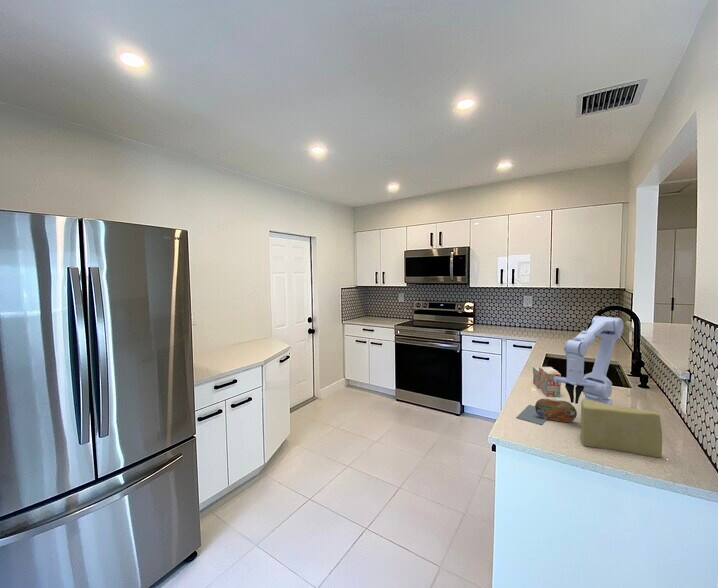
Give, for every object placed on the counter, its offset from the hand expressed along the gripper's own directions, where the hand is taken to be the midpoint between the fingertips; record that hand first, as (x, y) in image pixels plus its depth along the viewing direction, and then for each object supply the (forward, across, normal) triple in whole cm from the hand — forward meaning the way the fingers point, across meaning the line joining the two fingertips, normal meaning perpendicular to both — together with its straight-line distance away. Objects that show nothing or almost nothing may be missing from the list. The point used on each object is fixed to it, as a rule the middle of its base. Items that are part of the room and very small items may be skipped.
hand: (574, 402), depth 129 cm
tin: (+9, -7, 0) cm, 12 cm away
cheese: (+10, +15, -10) cm, 20 cm away
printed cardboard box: (+10, -19, +37) cm, 43 cm away
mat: (+9, -14, 0) cm, 17 cm away
